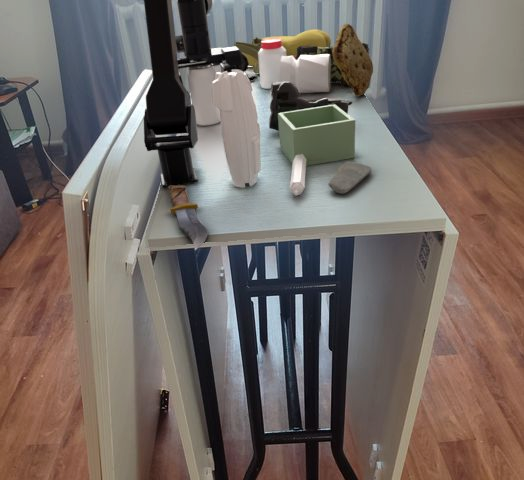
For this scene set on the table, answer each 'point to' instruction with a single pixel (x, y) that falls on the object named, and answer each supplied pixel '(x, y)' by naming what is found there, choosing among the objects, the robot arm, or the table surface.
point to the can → (203, 94)
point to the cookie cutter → (251, 50)
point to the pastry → (352, 60)
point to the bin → (317, 134)
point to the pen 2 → (331, 100)
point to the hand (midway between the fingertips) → (205, 102)
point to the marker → (298, 175)
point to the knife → (187, 215)
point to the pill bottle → (270, 61)
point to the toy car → (335, 72)
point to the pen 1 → (252, 78)
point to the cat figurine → (293, 102)
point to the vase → (307, 72)
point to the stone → (348, 176)
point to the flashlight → (238, 125)
